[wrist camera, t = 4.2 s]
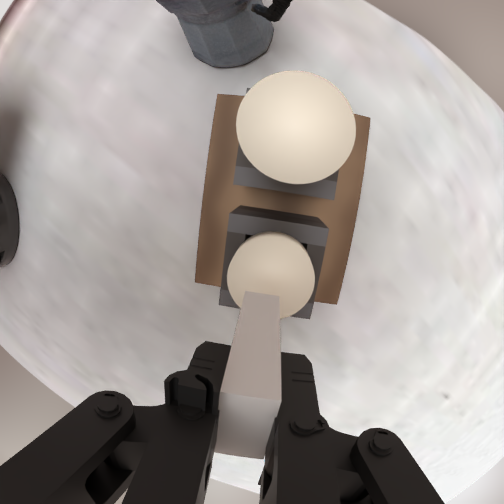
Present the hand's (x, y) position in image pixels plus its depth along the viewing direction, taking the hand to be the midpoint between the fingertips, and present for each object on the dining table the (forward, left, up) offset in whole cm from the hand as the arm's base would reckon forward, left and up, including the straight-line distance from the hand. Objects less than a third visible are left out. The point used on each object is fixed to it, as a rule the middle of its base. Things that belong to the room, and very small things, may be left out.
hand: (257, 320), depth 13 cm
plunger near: (0, +9, -10) cm, 13 cm away
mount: (0, +4, -17) cm, 17 cm away
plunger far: (0, 0, -14) cm, 14 cm away
